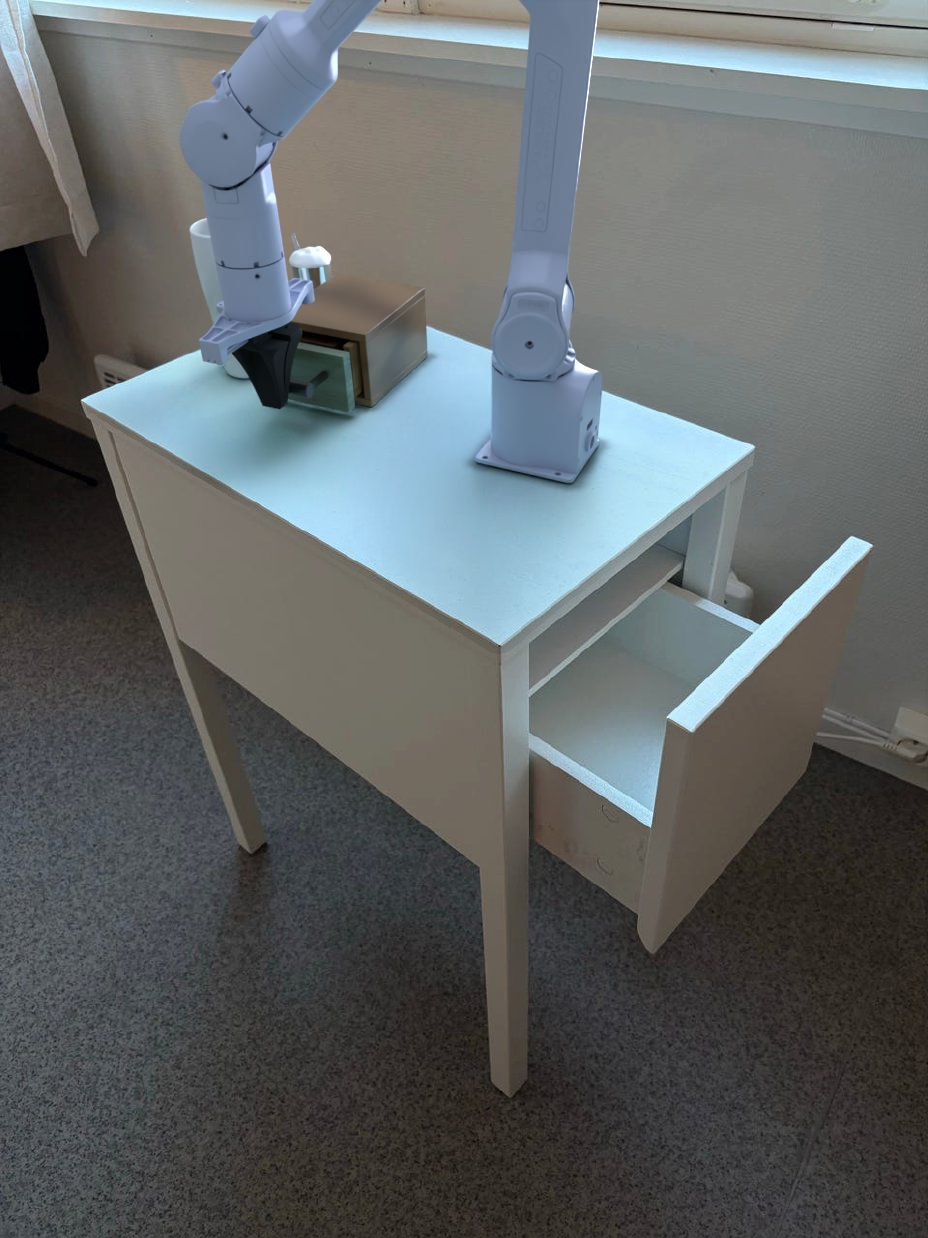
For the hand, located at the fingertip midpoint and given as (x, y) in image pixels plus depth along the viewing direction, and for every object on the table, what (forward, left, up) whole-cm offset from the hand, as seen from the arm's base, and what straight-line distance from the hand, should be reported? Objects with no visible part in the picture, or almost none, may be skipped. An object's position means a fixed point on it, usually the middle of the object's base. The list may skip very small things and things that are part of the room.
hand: (274, 404), depth 85 cm
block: (0, -10, -1) cm, 10 cm away
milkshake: (+10, -23, -4) cm, 25 cm away
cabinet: (0, -15, -3) cm, 15 cm away
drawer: (0, -9, -2) cm, 9 cm away
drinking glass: (+11, -11, -4) cm, 16 cm away
